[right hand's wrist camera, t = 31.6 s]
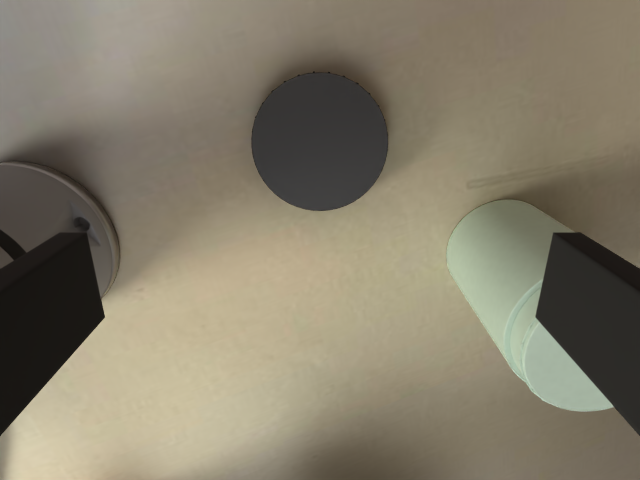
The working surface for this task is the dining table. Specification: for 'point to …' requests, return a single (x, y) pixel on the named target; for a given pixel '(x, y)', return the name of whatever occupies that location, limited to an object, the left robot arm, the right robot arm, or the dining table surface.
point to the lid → (319, 141)
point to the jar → (517, 297)
